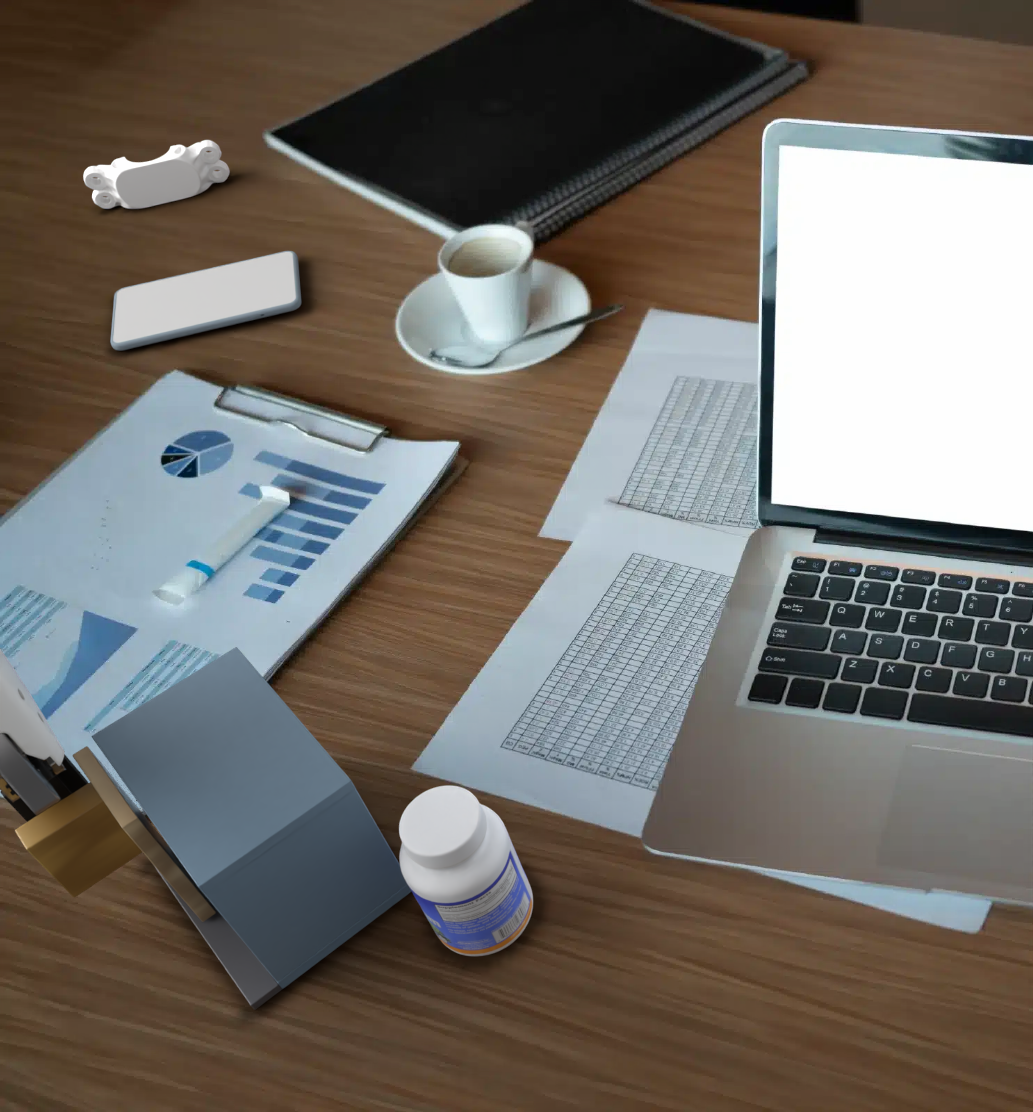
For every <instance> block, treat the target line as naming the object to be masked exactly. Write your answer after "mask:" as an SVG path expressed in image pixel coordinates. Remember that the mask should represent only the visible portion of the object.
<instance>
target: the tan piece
mask: <svg viewBox="0 0 1033 1112" xmlns="http://www.w3.org/2000/svg"><path fill="white" fill-rule="evenodd" d="M72 758H73V759H74V761H75V762H76V763H77V765H78V767H79V768H80V769H81V771H82V772H83V773H84V775H85V776H86V779H87V780H88V784H86V785H85V786H83V787H82V788H80V789H79V790H77V791H75V792H74V793H72V794H71V795H69V796H68V797H66V798H64V799H63V800H61V801H60V802H58V803H56V804H55V805H53V806H52V807H50V808H49V809H47V810H45V811H44V812H42V813H41V814H39V815H38V816H36V817H34V818H33V819H31V820H30V821H28V822H27V821H26V822H25V823H23V824H22V825H20V826H18V827H17V828H15V829H14V832H15V834H16V836H17V837H18V838H19V840H20V842H21V844H22V845H23V846H24V848H25V850H26V851H27V852H28V853H29V854H30V855H31V856H32V857H33V858H34V860H36V861H37V862H38V863H39V865H41V866H42V868H44V869H45V870H46V872H48V873H49V875H51V876H52V878H53V879H54V880H55V881H57V883H58V884H60V885H61V886H62V888H63V889H64V890H65V891H67V893H68V894H69V895H70V896H71V897H72V898H77V897H78V896H80V895H81V894H83V893H84V892H85V891H87V890H88V889H90V888H91V887H93V886H94V885H96V884H97V883H99V882H100V881H102V880H103V879H105V878H106V877H108V876H109V875H111V874H112V873H114V872H115V871H117V870H119V869H120V868H121V867H123V866H124V865H125V864H127V863H129V862H130V861H131V860H134V859H135V858H136V857H138V856H139V855H141V854H144V856H145V857H146V858H147V859H148V860H149V861H150V863H151V862H152V863H151V864H152V865H154V866H155V867H156V868H157V869H158V871H159V872H160V873H161V874H162V875H163V876H164V878H165V879H166V880H167V881H168V882H169V883H170V885H171V886H172V887H173V888H174V889H175V890H176V892H177V893H178V894H179V895H180V896H181V897H182V899H183V900H184V901H185V902H186V903H187V904H188V906H189V907H190V908H191V909H192V910H193V911H194V913H195V914H196V915H197V916H198V917H199V918H200V920H201V921H202V922H204V921H205V920H207V919H208V918H210V917H211V916H212V915H214V914H215V913H216V911H215V910H214V908H213V907H212V906H211V904H210V903H209V901H208V900H207V898H206V897H205V896H204V894H203V893H202V891H201V890H200V889H199V887H198V886H197V885H196V883H195V882H194V880H193V879H192V878H191V876H190V875H189V873H188V872H187V871H186V869H185V868H184V866H183V865H182V864H181V862H180V861H179V859H178V858H177V856H176V855H175V854H174V852H173V851H172V849H171V848H170V847H169V845H168V844H167V842H166V841H165V840H164V838H163V837H162V835H161V834H160V833H159V831H158V830H157V828H156V827H155V826H154V824H153V823H152V822H151V821H150V819H149V818H148V817H147V816H145V814H144V813H143V812H142V810H141V809H140V808H139V807H138V806H137V804H136V803H135V802H134V801H133V800H132V799H131V797H130V796H129V795H128V794H127V793H126V791H125V790H124V789H123V788H122V786H121V785H120V784H119V782H118V781H117V780H116V779H115V778H114V777H113V775H112V774H111V773H110V771H108V769H107V768H106V767H105V765H104V764H103V763H102V762H101V760H99V758H98V757H97V755H95V753H94V752H93V751H92V750H91V748H90V747H89V746H88V745H87V746H84V747H82V748H81V749H79V750H78V751H76V752H75V753H73V754H72ZM154 866H153V867H154ZM155 867H154V868H155ZM158 871H157V872H158Z"/></svg>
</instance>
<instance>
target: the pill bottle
mask: <svg viewBox="0 0 1033 1112" xmlns="http://www.w3.org/2000/svg"><path fill="white" fill-rule="evenodd" d="M398 824H399V825H398V833H399V837H400V841H401V845H400V850H399V856H398V857H399V858H398V859H399V861H398V862H399V864H400V868H401V872H402V874H403V876H404V879H405V880H406V882H407V884H408V886H409V888H410V889H411V891H412V892H411V893H412V895H413V896H414V898H415V900H416V901H417V903H418V905H419V906H420V909H421V910H422V912H423V914H424V916H425V917H426V919H427V921H428V922H429V924H430V926H431V928H432V929H433V931H434V933H435V935H436V936H437V938H438V939H439V941H440V942H441V943H442V944H443V945H444V946H445V947H446V948H448V949H449V950H450V951H452V952H453V953H456V954H457V955H458V954H459V955H462V956H466V957H483V956H489V955H492V954H495V953H498V952H500V951H502V950H504V949H506V948H508V947H509V946H510V945H512V944H513V943H515V941H517V939H519V937H520V936H521V935H523V932H524V931H525V929H526V927H527V926H528V924H529V922H530V920H531V917H532V913H533V909H534V895H533V890H532V887H531V884H530V882H529V879H528V877H527V874H526V872H525V870H524V868H523V866H522V863H521V861H520V859H519V856H518V854H517V851H516V849H515V847H514V845H513V842H512V839H511V837H510V834H509V831H508V830H507V827H506V826H505V823H504V822H503V820H502V819H501V817H500V816H499V815H498V814H497V813H496V812H495V811H494V810H492V808H490V807H488V806H487V805H484V804H482V803H480V801H479V799H478V798H477V797H476V796H475V795H474V793H472V792H471V791H470V790H468V789H466V788H464V787H461V786H459V785H458V786H457V785H451V784H450V785H440V786H436V787H433V788H430V789H427V790H425V791H423V792H422V793H420V794H419V795H417V796H416V797H414V798H413V800H412V801H410V802H409V804H407V806H406V808H405V809H404V811H403V812H402V814H401V817H400V819H399V823H398Z"/></svg>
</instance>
